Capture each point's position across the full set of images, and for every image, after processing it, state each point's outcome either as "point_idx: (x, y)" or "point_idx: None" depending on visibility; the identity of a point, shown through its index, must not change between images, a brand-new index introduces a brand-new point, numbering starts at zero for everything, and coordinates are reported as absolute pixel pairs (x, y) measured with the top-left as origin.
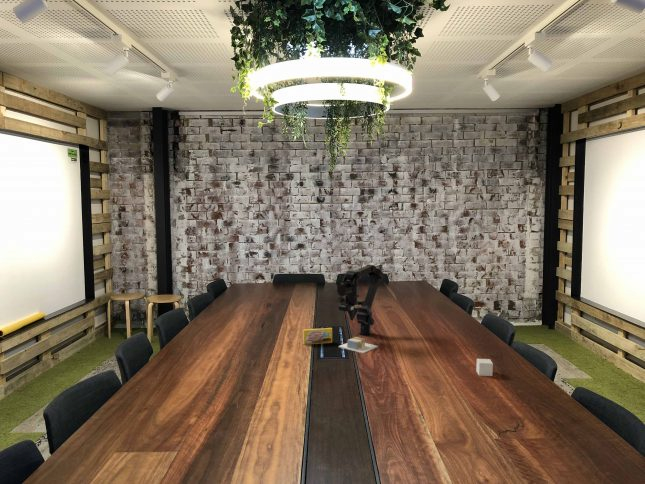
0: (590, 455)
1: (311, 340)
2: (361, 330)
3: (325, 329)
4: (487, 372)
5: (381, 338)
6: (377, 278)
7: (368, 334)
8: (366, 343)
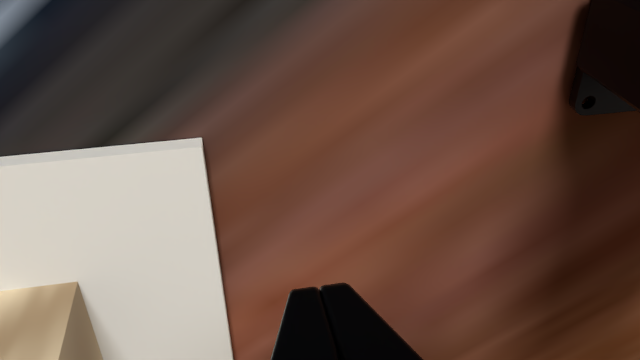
0: None
1: None
2: (627, 39)
3: None
4: None
5: (557, 282)
6: None
7: (619, 107)
8: (217, 339)
